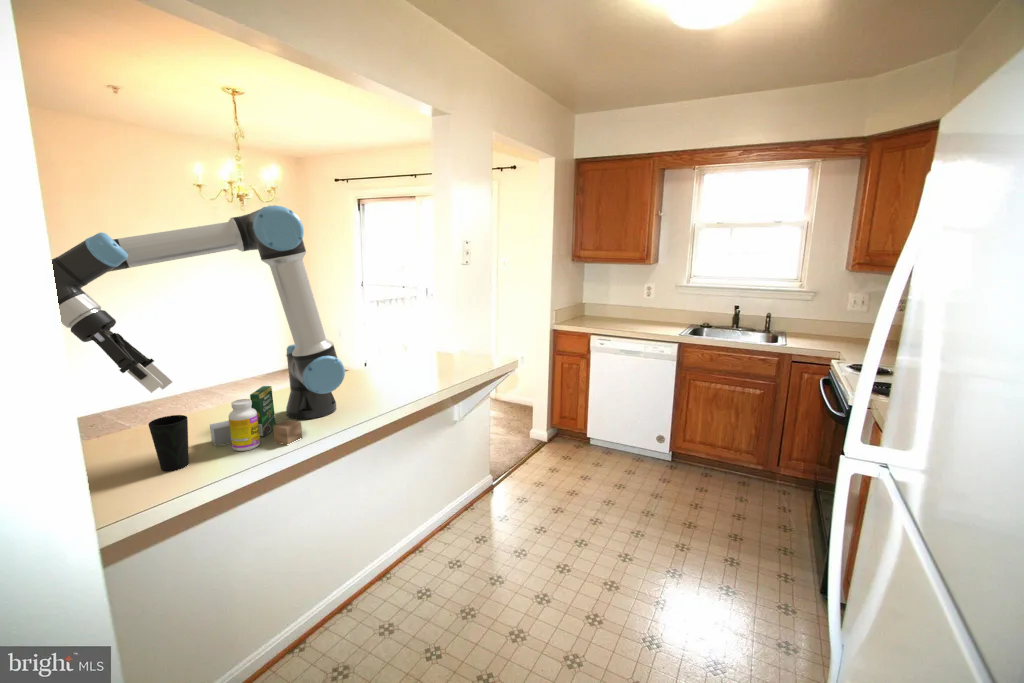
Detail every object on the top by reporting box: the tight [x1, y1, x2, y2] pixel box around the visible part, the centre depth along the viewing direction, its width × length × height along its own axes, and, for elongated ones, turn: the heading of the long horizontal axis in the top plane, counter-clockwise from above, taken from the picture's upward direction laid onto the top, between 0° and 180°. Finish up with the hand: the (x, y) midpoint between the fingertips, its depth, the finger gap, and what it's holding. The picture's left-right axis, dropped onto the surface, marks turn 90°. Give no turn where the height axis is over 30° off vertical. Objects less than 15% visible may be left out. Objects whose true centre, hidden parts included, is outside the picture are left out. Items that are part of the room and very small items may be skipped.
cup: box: [147, 414, 190, 473], centre depth 114 cm, size 8×8×12 cm
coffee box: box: [249, 385, 277, 438], centre depth 135 cm, size 8×3×13 cm, turn 2°
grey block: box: [209, 419, 232, 447], centre depth 130 cm, size 5×5×5 cm
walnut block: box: [272, 419, 303, 445], centre depth 131 cm, size 5×5×5 cm
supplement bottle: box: [228, 398, 261, 452], centre depth 126 cm, size 7×7×13 cm
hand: (162, 387), depth 111 cm, fingers open, 13 cm apart
